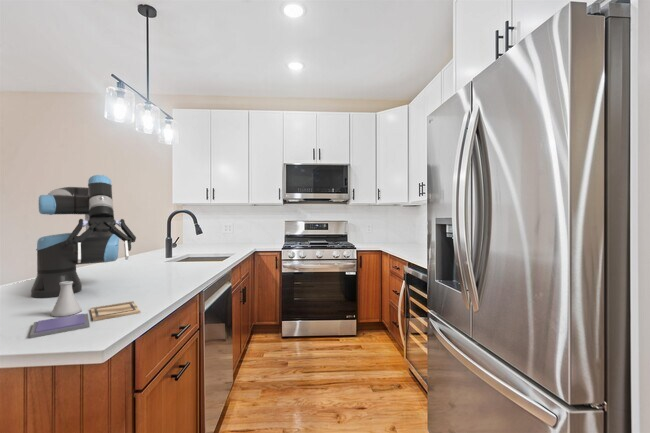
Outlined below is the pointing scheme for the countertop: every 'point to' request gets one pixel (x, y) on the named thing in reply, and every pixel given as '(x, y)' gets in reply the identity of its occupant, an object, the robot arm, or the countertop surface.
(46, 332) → the ink pad
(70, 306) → the flask
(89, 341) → the countertop surface
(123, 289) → the countertop surface
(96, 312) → the marked board
